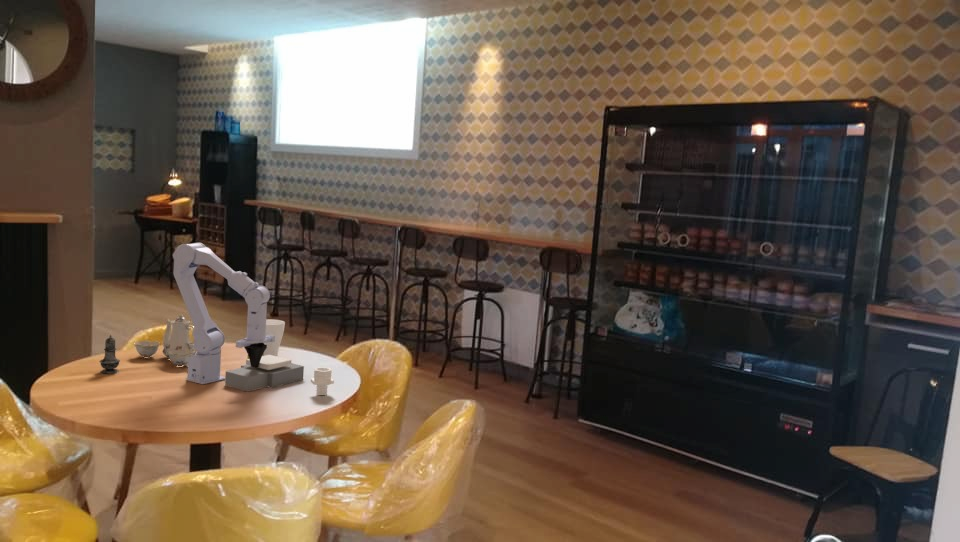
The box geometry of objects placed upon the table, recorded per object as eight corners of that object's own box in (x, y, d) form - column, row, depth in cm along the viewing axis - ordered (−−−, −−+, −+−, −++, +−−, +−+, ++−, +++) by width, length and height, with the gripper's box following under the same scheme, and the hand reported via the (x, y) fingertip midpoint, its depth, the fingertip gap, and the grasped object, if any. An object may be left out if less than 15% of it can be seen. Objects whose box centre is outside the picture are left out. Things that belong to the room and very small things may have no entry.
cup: (247, 358, 256) (249, 322, 255) (264, 353, 266) (266, 318, 265) (272, 362, 253) (274, 325, 252) (288, 357, 263) (290, 321, 262)
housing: (252, 392, 216) (253, 378, 215) (220, 384, 222) (221, 370, 222) (303, 379, 235) (303, 366, 234) (272, 371, 241) (272, 358, 241)
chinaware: (124, 362, 245) (121, 316, 242) (163, 349, 260) (160, 306, 257) (184, 376, 234) (181, 327, 231) (221, 361, 249) (219, 316, 246)
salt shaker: (123, 370, 229) (124, 334, 228) (112, 374, 223) (113, 337, 222) (106, 368, 230) (107, 332, 229) (95, 373, 224) (96, 335, 223)
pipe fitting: (337, 394, 221) (338, 369, 220) (320, 398, 215) (322, 373, 214) (322, 390, 224) (323, 365, 223) (305, 394, 218) (307, 369, 217)
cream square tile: (268, 370, 223) (268, 365, 223) (245, 364, 228) (246, 359, 228) (291, 364, 232) (291, 359, 232) (268, 359, 237) (269, 354, 236)
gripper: (247, 329, 215) (246, 373, 216) (282, 323, 228) (280, 365, 229) (231, 326, 218) (229, 368, 220) (266, 320, 231) (264, 361, 232)
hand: (254, 366), depth 225 cm, fingers closed
